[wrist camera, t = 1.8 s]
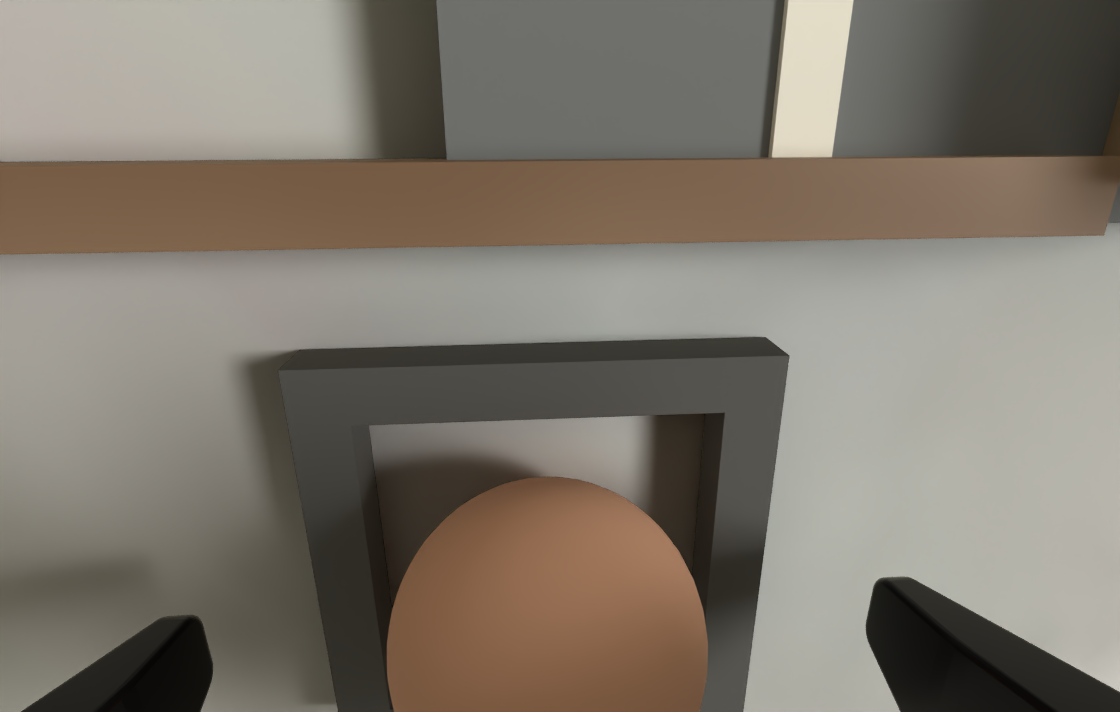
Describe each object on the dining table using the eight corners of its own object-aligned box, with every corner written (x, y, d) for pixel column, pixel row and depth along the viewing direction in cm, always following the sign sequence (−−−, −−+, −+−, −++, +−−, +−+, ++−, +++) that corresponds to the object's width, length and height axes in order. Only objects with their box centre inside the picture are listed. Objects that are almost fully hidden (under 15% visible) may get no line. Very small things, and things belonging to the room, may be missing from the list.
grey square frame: (726, 683, 11) (741, 722, 10) (357, 705, 10) (345, 749, 10) (766, 337, 9) (788, 356, 8) (299, 350, 8) (278, 370, 7)
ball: (658, 629, 10) (740, 907, 7) (426, 642, 10) (371, 939, 6) (671, 421, 9) (784, 620, 5) (404, 431, 9) (318, 646, 5)
